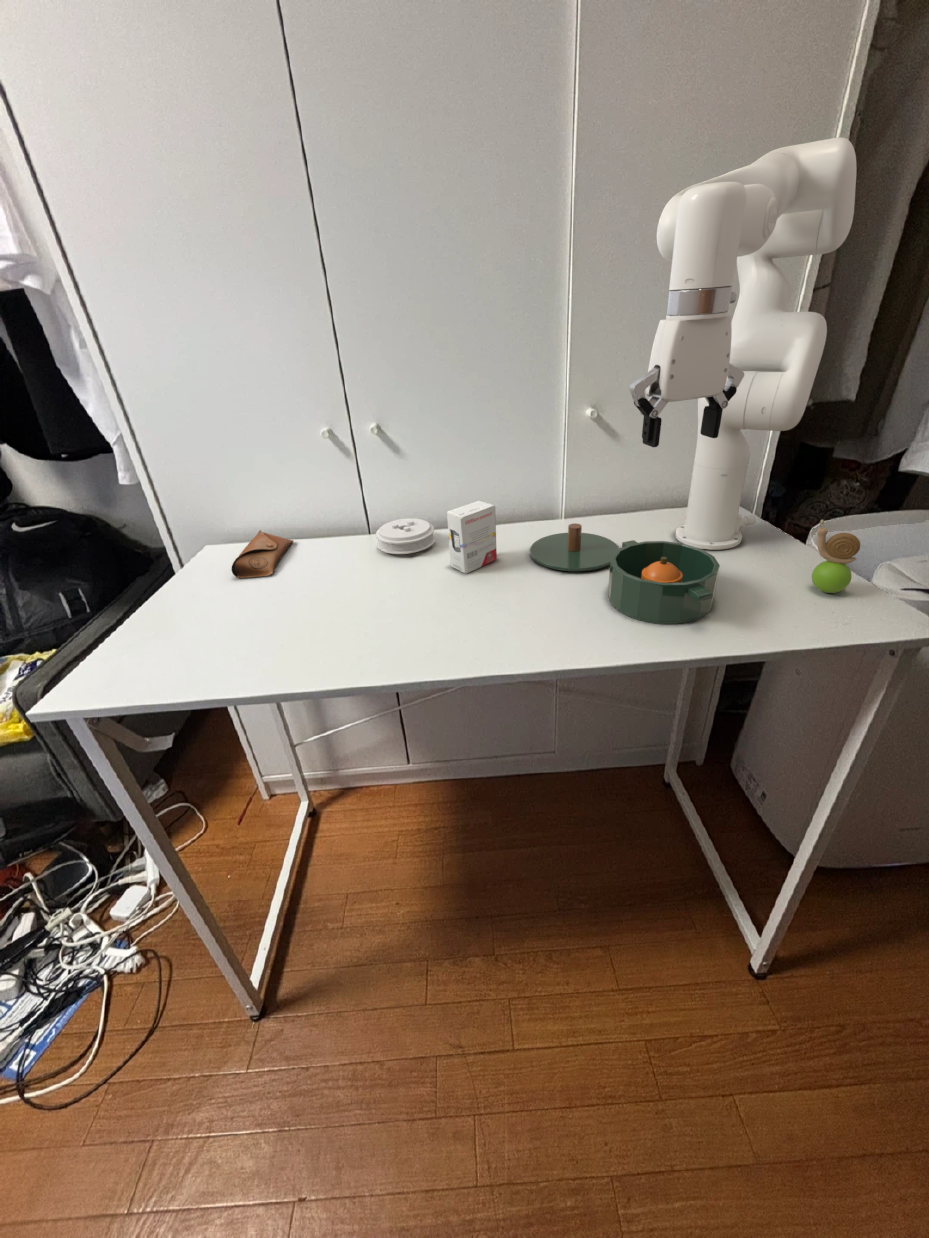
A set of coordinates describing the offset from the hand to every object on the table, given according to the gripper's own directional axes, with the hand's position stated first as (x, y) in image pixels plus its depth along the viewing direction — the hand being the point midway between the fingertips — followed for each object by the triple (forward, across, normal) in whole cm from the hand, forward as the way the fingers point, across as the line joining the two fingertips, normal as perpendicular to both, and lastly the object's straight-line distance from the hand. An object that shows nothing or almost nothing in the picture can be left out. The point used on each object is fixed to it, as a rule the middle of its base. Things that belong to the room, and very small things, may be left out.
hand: (679, 440), depth 79 cm
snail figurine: (+26, -26, +8) cm, 38 cm away
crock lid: (+26, +5, -22) cm, 34 cm away
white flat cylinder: (+26, +36, -41) cm, 61 cm away
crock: (+26, 0, 0) cm, 26 cm away
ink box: (+26, +25, -26) cm, 45 cm away
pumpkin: (+26, 0, 0) cm, 26 cm away
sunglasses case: (+26, +66, -47) cm, 85 cm away
